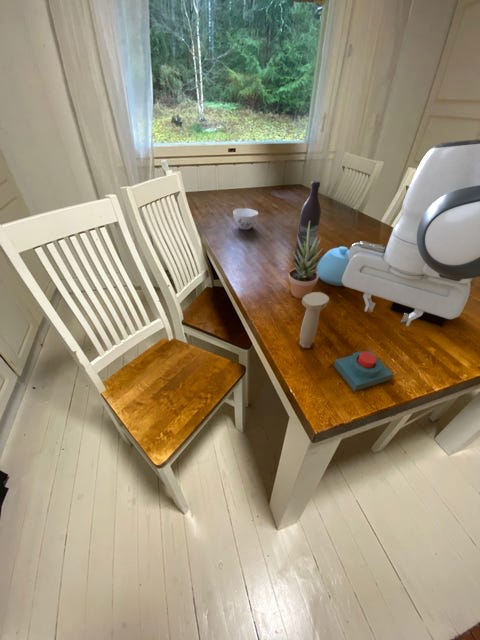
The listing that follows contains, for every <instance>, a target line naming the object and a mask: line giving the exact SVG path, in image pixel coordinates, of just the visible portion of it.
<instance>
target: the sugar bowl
mask: <svg viewBox="0 0 480 640" xmlns="http://www.w3.org/2000/svg"><path fill="white" fill-rule="evenodd" d="M349 251H350V249H349V248H348V247H346V246H339V247H334V248H331V249H330V250H328V251H327V252H326V253H325V254H323V256H322V257H321V258H320V262H319V263H318V264H317V265H316V268H315V269H317V268H318V269H317V270H318V271H316V272H317V273H318V276H319V278H318V279H320V280H321V281H322V282H324V283H326V284H327V285H331V286H335V287H345V286H344V285H343V283H342V277H343V275H344V272H345V270H346V267H347V265H348V263H349V262H350V261H349V258H348V254H349Z"/></svg>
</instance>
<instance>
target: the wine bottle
mask: <svg viewBox="0 0 480 640" xmlns="http://www.w3.org/2000/svg"><path fill="white" fill-rule="evenodd" d="M310 184H311V185H310V187H311V188H310V193H309V196H308V198H307V199H306V201H305V202H304V204H303V205H302V208H301V211H300V214H299V222H298V229H297V236H298V237H299V240H300V242H301V244H302V246H303V248H304V242H305V241H306V244H307V231H308V224H309V221H310V239H311V243H310V249H311V247H312V245H313V244H314V241H315V240H316V238H318V237H317V236H318V231H319V227H320V226H319V225H320V222H321V221H320V220H321V213H322V208H321V204H320V201H319V189H320V187H321V181H319V180H312V181H311V182H310ZM297 236H296V237H297ZM295 242H296V243H295V249H294V252H295V254H296V256H297V258H298V259H299V257H298V254H297V249H298V250H299V252H300V254H301V255H302V256H303V254H302V252H301V249H300V246H299V243H298V239H297V238H296V241H295ZM299 261H300V259H299ZM294 262H295V263H296V264H297V265H298V266H299V267H300V265H299V263H298V261H297V260H296V258H295V256H294V255H293V264H294V265H295V263H294ZM300 262H301V261H300Z"/></svg>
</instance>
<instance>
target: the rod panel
mask: <svg viewBox="0 0 480 640" xmlns="http://www.w3.org/2000/svg"><path fill="white" fill-rule="evenodd" d="M414 310H415V308H412V307H409V306H406V305H402V304H399V303H396V302H393V301H392V305H391V307H390V311H394V312H397V313H400V314H402V315H404V314H405V313H407V314H410V313H412V312H414ZM417 319H418V320H421V321H424V322H427V323H430V324H433V325H436V326H439V327H442V326H443V324H444V323H445V321H446V319H447V318H444V317H440V316H437V315H434V314H431V313H428V312H425V311H424V312H423V314H422V316H420V317H418V318H417Z"/></svg>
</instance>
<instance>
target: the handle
mask: <svg viewBox="0 0 480 640" xmlns="http://www.w3.org/2000/svg"><path fill="white" fill-rule="evenodd" d="M329 301H330V297H329V296H328V295H327V294H326V293H323V292H321V291H317V292H316V291H314V292H311V293H309V294H307V295H305V296H304V297H303V298H301V304H302V306H303V307H304V308H306V309H305V312H304V316H303V320H302V323H301V327H300V332H299V346H300V347H302V349H310V348H311V347H312V344H313V343H314V340H315V339H316V335H317V331H318V328H319V327H318V326H319V319H320V315H321V311H322V310H323V309H325V308H326V307H327V305H328V303H329Z"/></svg>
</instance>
